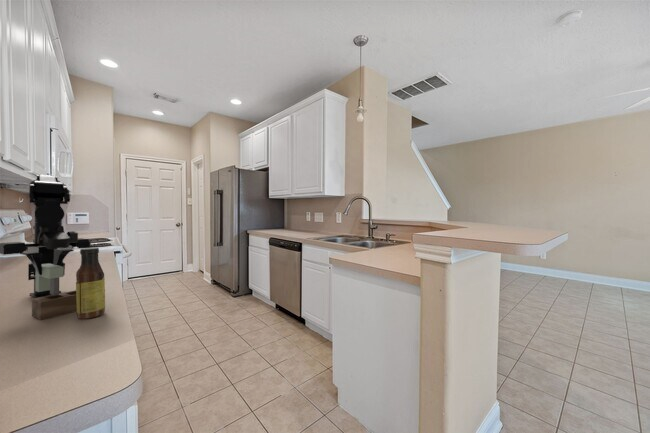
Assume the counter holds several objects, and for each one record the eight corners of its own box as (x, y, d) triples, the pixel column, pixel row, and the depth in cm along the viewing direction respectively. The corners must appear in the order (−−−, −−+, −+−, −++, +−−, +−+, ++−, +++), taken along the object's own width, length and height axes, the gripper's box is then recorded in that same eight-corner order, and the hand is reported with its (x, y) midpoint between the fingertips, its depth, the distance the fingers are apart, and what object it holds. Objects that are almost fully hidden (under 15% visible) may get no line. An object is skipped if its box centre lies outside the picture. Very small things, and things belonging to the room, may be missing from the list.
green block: (35, 290, 79) (35, 264, 79) (48, 288, 82) (49, 263, 82) (49, 296, 75) (49, 268, 75) (63, 293, 78) (63, 266, 78)
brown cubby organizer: (31, 316, 75) (32, 298, 75) (84, 303, 86) (84, 288, 86) (40, 320, 72) (40, 302, 72) (93, 306, 83) (94, 291, 83)
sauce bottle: (110, 312, 79) (111, 247, 79) (90, 320, 73) (90, 250, 72) (91, 311, 79) (92, 246, 79) (69, 319, 73) (69, 249, 73)
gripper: (11, 224, 67) (10, 284, 67) (99, 223, 84) (98, 271, 84) (-4, 223, 72) (-4, 279, 72) (82, 221, 89) (82, 267, 89)
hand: (47, 273), depth 79 cm, fingers closed on green block, 3 cm apart
